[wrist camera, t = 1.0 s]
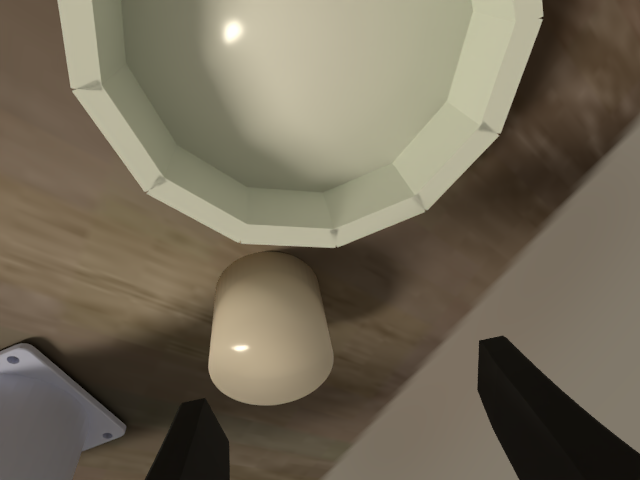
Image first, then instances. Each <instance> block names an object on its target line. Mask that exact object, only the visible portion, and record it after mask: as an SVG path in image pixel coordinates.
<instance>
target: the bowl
mask: <svg viewBox="0 0 640 480" xmlns="http://www.w3.org/2000/svg"><path fill="white" fill-rule="evenodd" d="M58 6H59V13H60V20H61V26H62V33H63V40H64V46H65V53H66V60H67V66H68V73H69V79H70V86H71V88H75V89H74V90H73V91H72V92H73V93H74V94H75V96H76V97H77V99H78V100H79V101H80V103H81V104H82V106H83V107H84V108H85V110H86V111H87V112H88V114H89V115H90V117H91V118H92V119H93V121H94V122H95V124H96V125H97V126H98V128H99V129H100V131H101V132H102V133H103V135H104V136H105V137H106V139H107V140H108V142H109V143H110V144H111V146H112V147H113V149H114V150H115V151H116V153H117V154H118V156H119V157H120V158H121V160H122V161H123V162H124V164H125V165H126V167H127V168H128V169H129V171H130V172H131V174H132V175H133V176H134V178H135V179H136V181H137V182H138V183H139V185H140V186H141V187H142V189H143V190H144V192H146V191H148V192H147V194H148V195H150V196H152V197H154V198H156V199H158V200H159V201H161V202H163V203H165V204H167V205H169V206H171V207H172V208H174V209H176V210H178V211H180V212H182V213H184V214H185V215H187V216H189V217H191V218H193V219H195V220H197V221H199V222H200V223H202V224H204V225H206V226H208V227H210V228H212V229H213V230H215V231H217V232H219V233H221V234H223V235H225V236H226V237H228V238H230V239H232V240H234V241H236V242H238V243H239V242H240V241H241V244H260V245H282V246H303V247H325V248H335V246H337V248H338V247H340V246H343V245H345V244H347V243H350V242H352V241H355V240H357V239H360V238H362V237H365V236H367V235H370V234H372V233H374V232H377V231H379V230H382V229H384V228H387V227H389V226H392V225H394V224H397V223H399V222H401V221H404V220H406V219H409V218H411V217H414V216H416V215H419V214H421V213H424V212H425V210H424V209H426V210H428V209H429V208H430V207H431V206H432V205H433V204H434V203H435V202H436V201H437V200H438V199H439V198H440V197H441V196H442V195H443V193H444V192H445V191H446V190H447V189H448V188H449V187H450V186H451V185H452V184H453V183H454V182H455V181H456V180H457V179H458V178H459V177H460V176H461V175H462V174H463V173H464V172H465V171H466V170H467V169H468V168H469V167H470V165H471V164H472V163H473V162H474V161H475V160H476V159H477V158H478V157H479V156H480V155H481V154H482V153H483V152H484V151H485V150H486V149H487V148H488V147H489V146H490V145H491V144H492V143H493V142H494V141H495V140H496V139H497V137H498V136H499V135H498V134H497V133H501V131H502V129H503V126H504V123H505V120H506V118H507V115H508V112H509V110H510V107H511V104H512V102H513V99H514V96H515V93H516V91H517V88H518V85H519V83H520V80H521V77H522V75H523V72H524V69H525V66H526V64H527V61H528V58H529V56H530V53H531V50H532V48H533V45H534V42H535V39H536V37H537V34H538V31H539V29H540V26H541V23H542V21H543V19H539V18H541V17H543V6H542V0H58Z"/></svg>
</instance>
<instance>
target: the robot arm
mask: <svg viewBox="0 0 640 480" xmlns="http://www.w3.org/2000/svg"><path fill="white" fill-rule="evenodd" d="M14 356H15V357H14ZM478 392H479V395H480V397H481V400H482V403H483V405H484V408H485V410H486V413H487V415H488V418H489V420H490V423H491V425H492V428H493V430H494V432H495V434H496V436H497V437H498V440H499V441H500V443H501V445H502V447H503V449H504V451H505V453H506V455H507V457H508V459H509V461H510V463H511V464H512V466H513V468H514V470H515V472H516V474H517V476H518V478H519V480H640V454H639V453H638V452H637V451H635V450H634V449H632V448H631V447H630V446H629V445H627V444H626V443H625V442H624V441H622V440H621V439H620V438H618V437H617V436H616V435H615V434H613V433H612V432H611V431H610V430H608V429H607V428H606V427H604V426H603V425H602V424H601V423H600V422H598V421H597V420H596V419H595V418H594V417H592V416H591V415H590V414H589V413H588V412H586V411H585V410H584V409H583V408H582V407H580V406H579V405H578V404H577V403H576V402H575V401H574V400H572V399H571V398H570V397H569V396H568V395H567V394H565V393H564V392H563V391H562V390H561V389H560V388H559V387H558V386H556V385H555V384H554V383H553V382H552V381H551V380H550V379H549V378H547V376H545V375H544V374H543V373H542V372H541V371H540V370H539V369H538V368H537V367H536V366H535V365H534V364H533V363H532V362H531V361H529V360H528V359H527V358H526V357H525V356H524V355H523V354H522V353H521V352H520V351H519V350H518V349H517V348H516V347H515V346H514V345H513V344H512V343H511V342H510V341H509V340H508V339H507V338H506V337H504V336H499V337H494V338H490V339H485V340H480V341H479V362H478ZM125 431H126V425H125V424H124V423H123V422H122V421H120V420H119V419H118V418H117V417H116V416H115V415H113V414H112V413H111V412H110V411H109V410H107V409H106V408H105V407H104V406H103V405H102V404H100V403H99V402H98V401H97V400H96V399H95V398H93V397H92V396H91V395H90V394H89V393H88V392H86V391H85V390H84V389H83V388H82V387H81V386H79V385H78V384H77V383H76V382H75V381H74V380H72V379H71V378H70V377H69V376H68V375H67V374H65V373H64V372H63V371H62V370H61V369H60V368H58V367H57V366H56V365H55V364H54V363H53V362H51V361H50V360H49V359H48V358H47V357H46V356H44V355H43V354H42V353H41V352H40V351H39V350H37V349H36V348H35V347H34V346H32V345H30V344H27V343H20V344H17V345H14V346H12V347H9V348H7V349H5V350H2V351H0V480H72V479H73V476H74V473H75V470H76V467H77V464H78V461H79V458H80V455H81V452H82V451H85V450H87V449H90V448H93V447H95V446H98V445H100V444H103V443H106V442H108V441H111V440H114V439H116V438H119V437H121V436H123V435H124V434H125ZM145 480H230V466H229V441H228V439H227V437H226V435H225V433H224V432H223V430H222V428H221V426H220V424H219V422H218V421H217V419H216V417H215V415H214V413H213V412H212V410H211V408H210V406H209V404H208V403H207V401H206V399H205V398H203V399H199V400H194V401H189V402H184V403H182V404H181V405H180V407H179V409H178V411H177V413H176V415H175V418H174V420H173V422H172V424H171V426H170V429H169V431H168V433H167V435H166V437H165V439H164V441H163V444H162V446H161V448H160V450H159V452H158V454H157V456H156V458H155V460H154V462H153V464H152V466H151V468H150V470H149V472H148V474H147V476H146V478H145Z"/></svg>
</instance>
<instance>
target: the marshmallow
mask: <svg viewBox="0 0 640 480" xmlns="http://www.w3.org/2000/svg"><path fill="white" fill-rule="evenodd" d="M333 361H334V354H333V349H332V345H331V340H330V335H329V330H328V326H327V321H326V316H325V312H324V307H323V302H322V298H321V293H320V288H319V284H318V280H317V277H316V275H315V273H314V272H313V270H312V269H311V268H310V267H309V266H308V265H307V264H306V263H305V262H303V261H302V260H300V259H299V258H297V257H295V256H292V255H289V254H286V253H281V252H273V251H267V252H258V253H253V254H250V255H247V256H244V257H242V258H240V259H238V260H236V261H235V262H233V263H232V264H231V265H230V266H228V267H227V268H226V269H225V271H224V272H223V273H222V275H221V276H220V278H219V280H218V282H217V286H216V292H215V302H214V312H213V322H212V333H211V343H210V353H209V363H208V369H209V374H210V377H211V379H212V381H213V383H214V384H215V386H216V387H217V388H218V389H219V390H220V391H221V392H222V393H224V394H225V395H227V396H228V397H230V398H232V399H235V400H237V401H240V402H243V403H247V404H252V405H278V404H284V403H288V402H292V401H295V400H298V399H300V398H302V397H304V396H306V395H308V394H310V393H311V392H313V391H314V390H316V389H317V388H318V387H319V386H321V384H322V383H323V382H324V381H325V380H326V379H327V377H328V376H329V374H330V372H331V370H332V367H333Z"/></svg>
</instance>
